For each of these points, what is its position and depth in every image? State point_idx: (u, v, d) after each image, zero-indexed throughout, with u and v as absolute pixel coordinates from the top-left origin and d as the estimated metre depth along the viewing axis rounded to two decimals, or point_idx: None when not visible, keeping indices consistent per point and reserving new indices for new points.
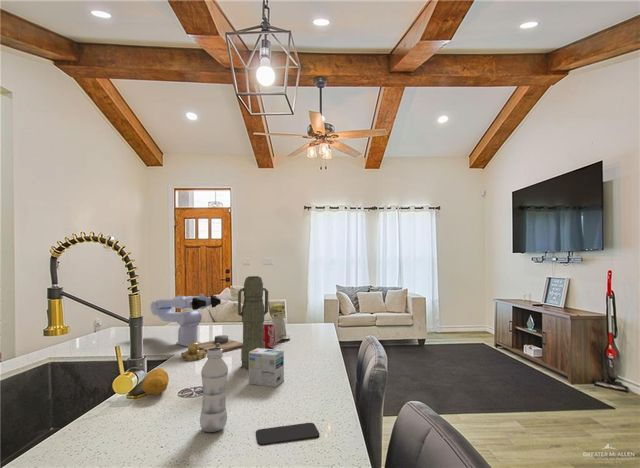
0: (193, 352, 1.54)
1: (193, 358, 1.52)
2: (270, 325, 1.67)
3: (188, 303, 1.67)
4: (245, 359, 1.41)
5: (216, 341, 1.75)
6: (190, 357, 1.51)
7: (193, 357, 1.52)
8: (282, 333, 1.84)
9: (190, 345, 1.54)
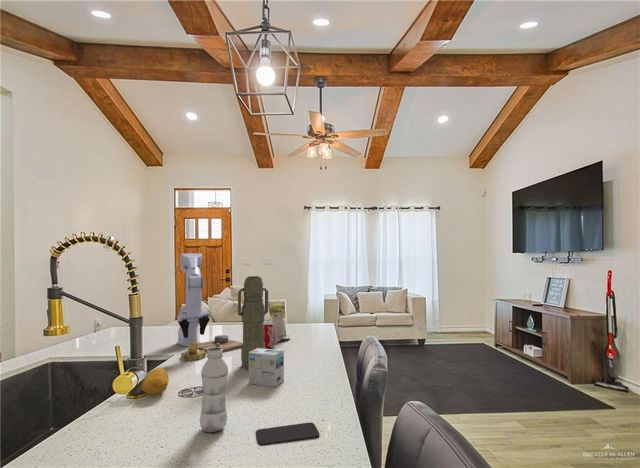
0: (193, 352, 1.54)
1: (193, 358, 1.52)
2: (270, 325, 1.67)
3: (178, 318, 1.51)
4: (245, 359, 1.41)
5: (216, 341, 1.75)
6: (190, 357, 1.51)
7: (193, 357, 1.52)
8: (282, 333, 1.84)
9: (190, 345, 1.54)
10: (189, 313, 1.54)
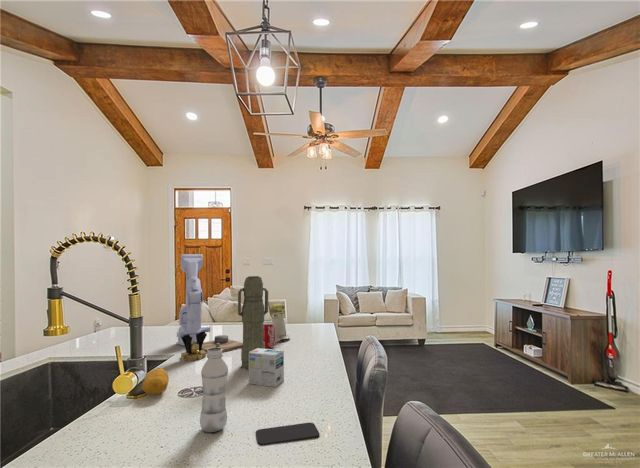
0: (193, 352, 1.54)
1: (193, 358, 1.52)
2: (270, 325, 1.67)
3: (178, 335, 1.50)
4: (245, 359, 1.41)
5: (216, 341, 1.75)
6: (190, 357, 1.51)
7: (193, 357, 1.52)
8: (282, 333, 1.84)
9: None
10: (189, 329, 1.54)
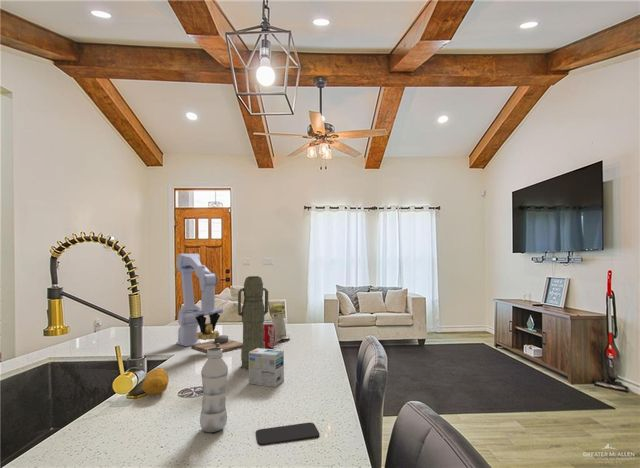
0: (207, 332, 1.61)
1: (207, 337, 1.59)
2: (270, 325, 1.67)
3: (193, 314, 1.58)
4: (245, 359, 1.41)
5: (216, 341, 1.75)
6: (204, 336, 1.58)
7: (207, 336, 1.59)
8: (282, 333, 1.84)
9: None
10: (203, 309, 1.61)
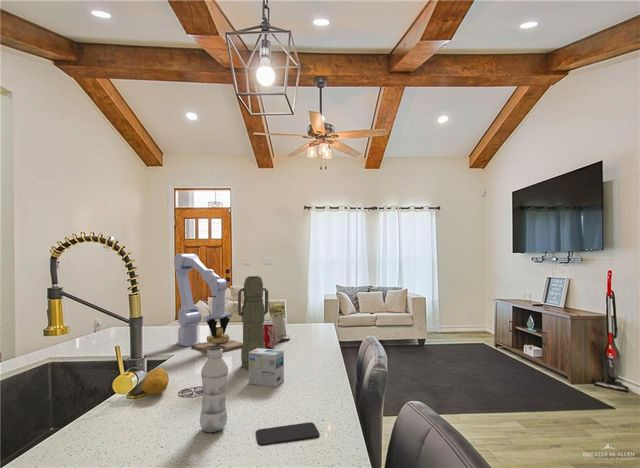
0: (218, 335, 1.67)
1: (218, 341, 1.65)
2: (270, 325, 1.67)
3: (204, 318, 1.64)
4: (245, 359, 1.41)
5: None
6: (215, 340, 1.64)
7: (218, 340, 1.65)
8: (282, 333, 1.84)
9: None
10: (214, 313, 1.67)
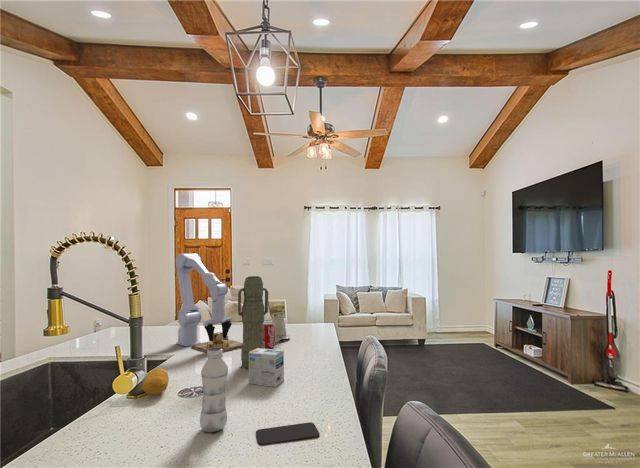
0: (218, 341, 1.67)
1: (218, 347, 1.65)
2: (270, 325, 1.67)
3: (204, 323, 1.63)
4: (245, 359, 1.41)
5: None
6: (215, 346, 1.64)
7: (218, 346, 1.65)
8: (282, 333, 1.84)
9: (215, 335, 1.67)
10: (214, 318, 1.67)
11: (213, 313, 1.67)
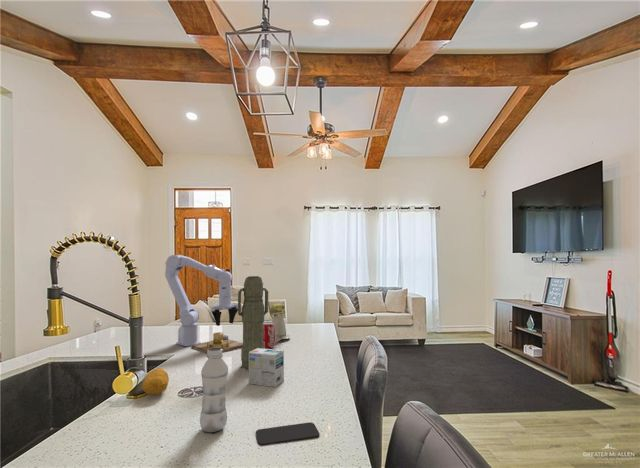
0: (218, 341, 1.67)
1: (218, 347, 1.65)
2: (270, 325, 1.67)
3: (212, 309, 1.74)
4: (245, 359, 1.41)
5: None
6: (215, 346, 1.64)
7: (218, 346, 1.65)
8: (282, 333, 1.84)
9: (215, 335, 1.67)
10: (221, 304, 1.77)
11: (220, 299, 1.77)
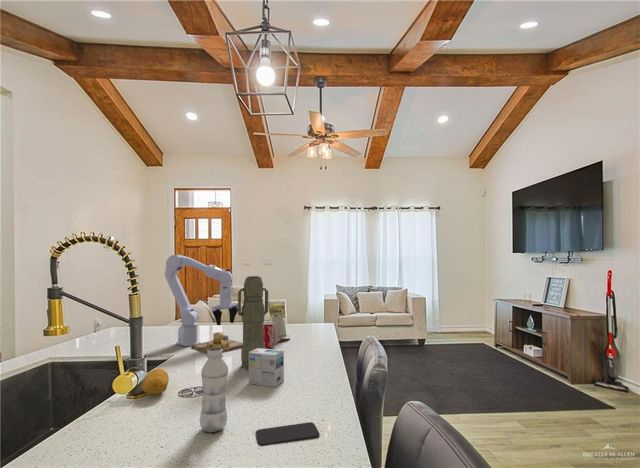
0: (218, 341, 1.67)
1: (218, 347, 1.65)
2: (270, 325, 1.67)
3: (213, 308, 1.75)
4: (245, 359, 1.41)
5: None
6: (215, 346, 1.64)
7: (218, 346, 1.65)
8: (282, 333, 1.84)
9: (215, 335, 1.67)
10: (221, 304, 1.78)
11: (221, 299, 1.78)
